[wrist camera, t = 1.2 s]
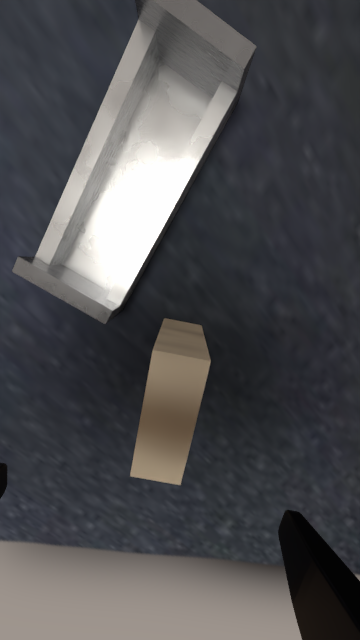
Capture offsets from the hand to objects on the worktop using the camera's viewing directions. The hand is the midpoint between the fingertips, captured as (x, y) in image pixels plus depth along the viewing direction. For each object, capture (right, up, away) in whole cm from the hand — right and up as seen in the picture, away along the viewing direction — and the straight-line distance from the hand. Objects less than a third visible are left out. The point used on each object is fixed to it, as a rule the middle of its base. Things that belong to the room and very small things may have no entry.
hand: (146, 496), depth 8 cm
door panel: (+1, +2, +12) cm, 12 cm away
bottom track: (-2, +15, +9) cm, 17 cm away
